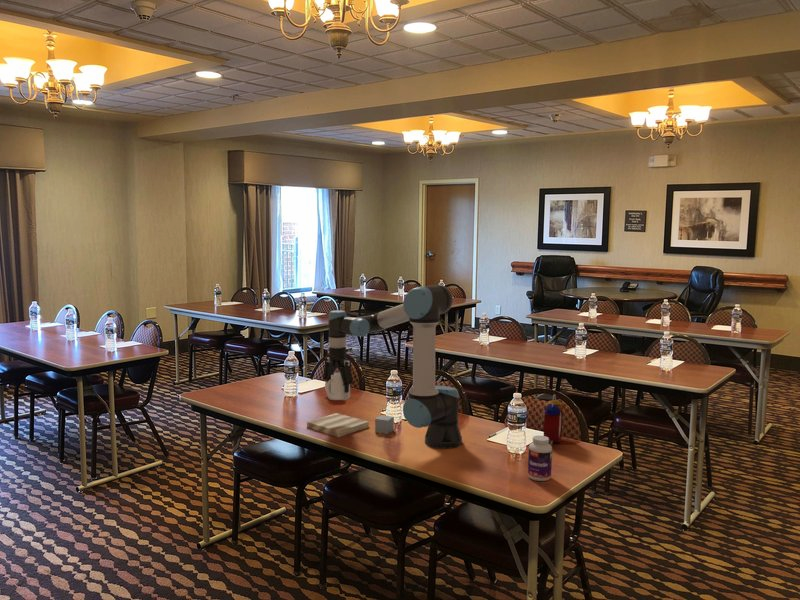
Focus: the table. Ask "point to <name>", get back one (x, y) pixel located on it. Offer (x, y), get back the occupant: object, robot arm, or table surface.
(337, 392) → the mug
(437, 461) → the table surface
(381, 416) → the grey cube
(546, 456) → the pill bottle
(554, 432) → the red spray bottle
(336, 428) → the birch slab
